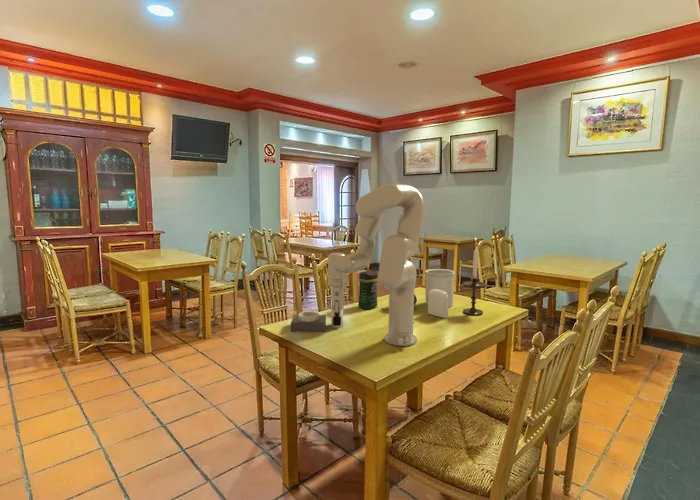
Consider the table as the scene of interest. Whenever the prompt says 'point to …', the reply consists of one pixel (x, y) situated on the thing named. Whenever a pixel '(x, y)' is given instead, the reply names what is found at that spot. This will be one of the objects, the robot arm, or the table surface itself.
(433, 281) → the utensil holder
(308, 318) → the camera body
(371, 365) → the table surface
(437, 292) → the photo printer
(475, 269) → the candlestick
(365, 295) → the coffee jar
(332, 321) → the white cylinder
